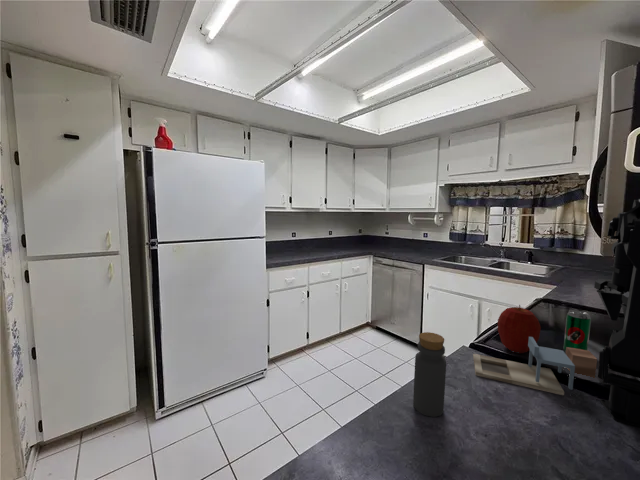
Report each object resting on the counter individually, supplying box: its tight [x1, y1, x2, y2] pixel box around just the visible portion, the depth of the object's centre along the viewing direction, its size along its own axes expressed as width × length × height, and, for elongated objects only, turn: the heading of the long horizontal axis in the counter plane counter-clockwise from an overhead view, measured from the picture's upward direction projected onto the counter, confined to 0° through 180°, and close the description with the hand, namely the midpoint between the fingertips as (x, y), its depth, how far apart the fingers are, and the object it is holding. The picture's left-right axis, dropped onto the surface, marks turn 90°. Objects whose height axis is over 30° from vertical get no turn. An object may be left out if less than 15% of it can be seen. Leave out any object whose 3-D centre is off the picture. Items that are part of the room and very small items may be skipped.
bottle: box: [412, 331, 447, 418], centre depth 57 cm, size 6×6×15 cm
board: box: [472, 353, 565, 396], centre depth 70 cm, size 10×17×1 cm, turn 64°
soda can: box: [563, 309, 592, 352], centre depth 80 cm, size 5×5×12 cm
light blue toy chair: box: [528, 337, 575, 391], centre depth 66 cm, size 8×7×8 cm
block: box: [565, 347, 598, 378], centre depth 70 cm, size 4×4×5 cm
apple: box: [497, 304, 542, 354], centre depth 81 cm, size 10×10×14 cm
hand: (623, 326), depth 70 cm, fingers open, 9 cm apart
